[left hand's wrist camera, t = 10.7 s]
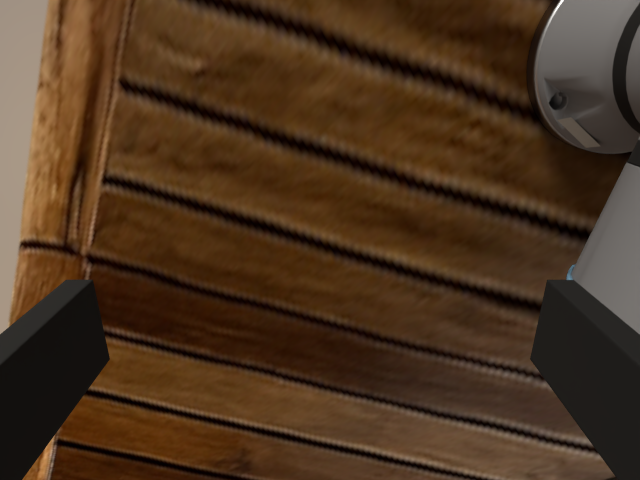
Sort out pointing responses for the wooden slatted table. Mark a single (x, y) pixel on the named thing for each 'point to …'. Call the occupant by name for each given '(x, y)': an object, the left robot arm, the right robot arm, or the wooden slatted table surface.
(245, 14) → the wooden slatted table surface
